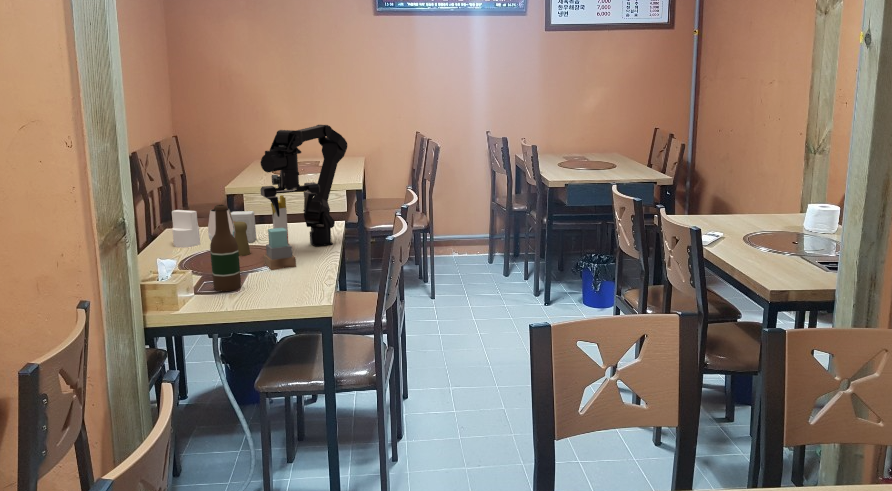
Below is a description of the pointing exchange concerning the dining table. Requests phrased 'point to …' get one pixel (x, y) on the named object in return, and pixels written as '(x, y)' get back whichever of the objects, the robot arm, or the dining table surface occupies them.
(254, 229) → the small box
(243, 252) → the cork
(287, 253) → the charcoal block
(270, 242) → the teal cube
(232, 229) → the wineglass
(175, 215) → the white stepped block
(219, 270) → the beer bottle
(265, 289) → the dining table surface
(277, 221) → the french fries container
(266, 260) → the walnut slab
